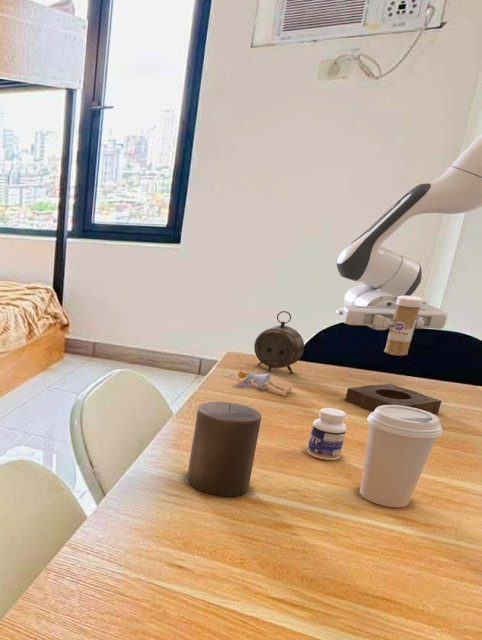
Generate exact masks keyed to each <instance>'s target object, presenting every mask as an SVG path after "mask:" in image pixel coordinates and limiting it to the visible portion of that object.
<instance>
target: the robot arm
mask: <svg viewBox="0 0 482 640" xmlns="http://www.w3.org/2000/svg"><path fill="white" fill-rule="evenodd" d="M480 208H482V134H480V135H479V136H478V137H477V138H476V139H474V140H473V142H472V143H471V144H469V145H468V147H467V148H465V149H464V150H463V152H462V153H460V154H459V156H458V157H457V158H456V159H455V160H454V161H453V162H452V164H451V165H450V166H449V167H448V168H447V170H446V171H444V173H443V174H441V175H440V176H438V177H437V178H435V179H434V180H431V181H430V182H428V183H427V182H426V183H420V184H417V185H416V186H415V187H413V188H412V189H410V190H408V192H406V193H405V194H404V195H403V196H402V197H401V198H400V199H399V200H398V201H396V202H395V203H394V204H393V205H392V206H390V208H389V209H388V210H387V211H386V212H384V214H382V216H380V217H379V218H378V219H377V220H376V221H375V222H374V223H373V224H371V226H370V227H368V229H366V230H365V231H364V232H363V233H362V234H361V235H360V236H359V237H357V238H356V239H355V240H353V241H352V242H351V243H349V244H348V245H347V246H346V247H345V248H344V249H343V250H342V251H341V252H340V254H339V255H338V257H337V259H336V261H335V263H336V269H337V272H338V274H339V276H340V277H342V278H345V279H347V280H351V281H353V282H358V283H360V284H358V285H356V286H353V287H351V288H350V289H349V290H347V292H346V293H345V295H344V299H343V305H344V306H343V308H339V309H336V310H335V313H336V314H337V315H339V316H341V317H340V319H341V321H342V322H343V323H344V324H346V325H349V326H365V327H369V328H370V329H372V330H376V331H386V330H390V327H394V323H395V320H393V317H394V314H395V310H396V305H397V304H396V302H397V299H398V297H399V296H413V294H414V293H415V292H416V290H417V289H418V287H419V286H420V284H421V282H422V278H423V277H422V276H423V273H422V266H421V264H420V262H419V261H416V260H414V259H412V258H409V257H407V256H405V255H402V254H399V253H397V252H394V251H393V250H390V249H388V248H386V247H383V246H382V244H383V243H384V242H385V241H386V240H387V239H388V238H389V237H390V236H391V235H393V234H394V233H395V232H396V231H397V230H398V229H399V228H400V227H402V225H404V224H405V223H406V222H407V221H409V220H410V219H411V218H413V217H416V216H419V215H423V214H443V215H444V214H445V215H448V214H449V215H456V214H457V215H458V214H465V213H469V212H472V211H475V210H477V209H480ZM447 321H448V313H447V312H445V310H442V309H440V308H438V307H436V306H434V305H432V304H431V305H430V304H428V301H427V300H424V299H423V302H422V305H421V307H420V309H419V312H418V316H417V321H416V324H415V328H414V329H418V330H419V329H420V330H422V329H435V330H436V329H437V330H441V329H443V328H445V326H446V324H447Z"/></svg>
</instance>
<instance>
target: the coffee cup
mask: <svg viewBox="0 0 482 640" xmlns="http://www.w3.org/2000/svg"><path fill="white" fill-rule="evenodd" d="M366 423H368V430H367V431H368V432H367V440H366V445H365V446H366V447H365V454H364V458H363V459H364V460H363V467H362V473H361V474H362V475H361V481H360V488H359V494H360V496H361V497H362V498H364V499H365V500H367V501H369V502H371V503H373V504H376V505H379V506H383V507H387V508H388V507H389V508H404V507H407V506H408V505H409V503H410V501H411V498H412V496H413V493H414V492H415V489H416V486H417V484H418V482H419V479H420V477H421V475H422V472H423V470H424V468H425V466H426V463H427V461H428V459H429V456H430V454H431V451H432V450H433V447H434V445H435V443H436V440H437V439H438V438H439V437H442V435H443V427H442V424H441V423H440V418H439V417H438V415H436V414H432V413H430V412H427V411H424V410H421V409H417V408H413V407H407V406H400V405H382V406H378V407H377V408H376V409H375V411H371V412H370V413H369V415H368V416H367V418H366Z"/></svg>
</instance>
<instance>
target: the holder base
mask: <svg viewBox="0 0 482 640" xmlns="http://www.w3.org/2000/svg"><path fill="white" fill-rule="evenodd" d="M346 390H347V391H346V395H345V399H344V400H345V401H347V402H349V403H352V404H354V405H357V406H359V407H361V408H364V409H366V410H368V411H371V412H374V411H375V409H376V408H377V407H378V406H382V405H400V406H407V407H413V408H417V409H421V410H424V411H427V412H430V413H432V414H434V415H436V414H437V415H438V414H439V412H440V408H441V404H442V400H440V399H437V398H435V397H432V396H428V395H425V394H423V393H422V392H417V391H415V390H412V389H408V388H404V387H401V386H399V385H395V384H393V383H383V384H370V385H363V386H355V387H348V388H347V389H346Z"/></svg>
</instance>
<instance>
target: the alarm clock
mask: <svg viewBox="0 0 482 640" xmlns="http://www.w3.org/2000/svg"><path fill="white" fill-rule="evenodd" d="M283 313H285V314H288V316H289V319H288V321H286V322H285V321H284V320H283V321H281V320H279V316H280V315H281V314H283ZM276 320H277V322H278V323H279V324H280V325H275V326H272V327H270V328H267V329H265V330H263V331H262V332H260V333H259V334H258V335H257V337H256V338H255V340H254V344H253V348H254V349H253V350H254V354H255V356H256V358H257V360H258V361H259V363H257V366H258V367H260V366H261V365H262V364H263V365H264V366H265V367H267V373H268V372H271V370H272V369H276V370H277V369H285V368H287V370H288V371H289V374H290V375H292V374H294V371H293V369H292V368H291V365H294V364H296V363H297V362H298V361H299V360H300V359H301V358H302V357H303V355H304V351H305V341H304V339H303V337H302V335H301V334H300V333H299V332H298V330H297V329H294V328H293V327H291V326H287V324H288V323H289V322H291V320H292V314H291V313H290V312H289V311H287V310H282V311H279V312H278V313H277V315H276Z"/></svg>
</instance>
